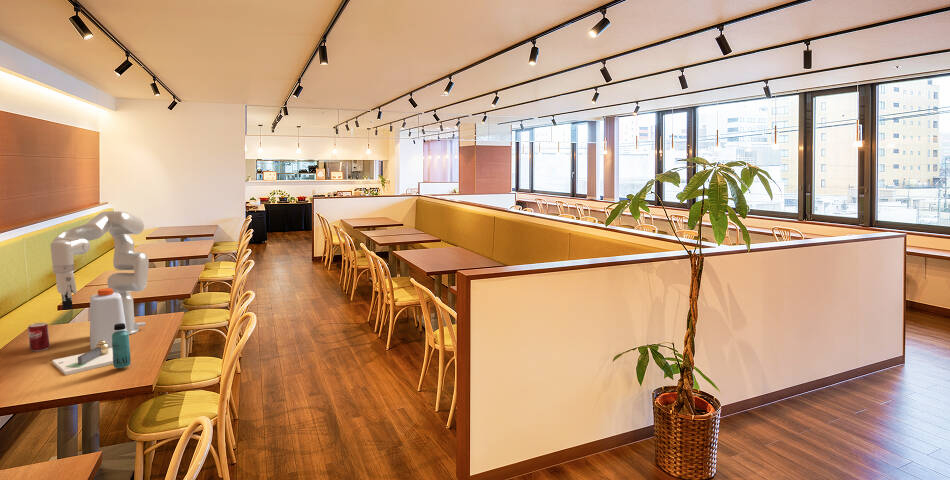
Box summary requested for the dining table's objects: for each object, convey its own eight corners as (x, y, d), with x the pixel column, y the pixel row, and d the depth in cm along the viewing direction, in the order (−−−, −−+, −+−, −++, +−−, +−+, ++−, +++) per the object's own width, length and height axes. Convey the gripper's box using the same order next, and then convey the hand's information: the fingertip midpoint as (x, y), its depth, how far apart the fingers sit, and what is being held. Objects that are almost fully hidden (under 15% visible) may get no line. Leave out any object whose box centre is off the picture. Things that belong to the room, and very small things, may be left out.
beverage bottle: (118, 366, 233) (115, 321, 230) (134, 365, 234) (131, 321, 231) (110, 371, 227) (106, 326, 224) (126, 371, 227) (123, 326, 224)
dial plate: (112, 350, 252) (112, 346, 252) (128, 360, 240) (127, 356, 239) (52, 363, 234) (52, 359, 234) (65, 375, 222) (65, 371, 222)
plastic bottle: (129, 347, 256) (125, 290, 253) (90, 353, 247) (86, 294, 244) (126, 339, 268) (122, 284, 265) (89, 344, 259) (85, 288, 255)
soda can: (38, 352, 247) (36, 327, 246) (25, 351, 249) (23, 326, 247) (53, 347, 254) (51, 323, 253) (41, 346, 256) (39, 321, 254)
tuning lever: (100, 351, 245) (100, 339, 244) (110, 351, 245) (109, 339, 244) (74, 364, 228) (73, 352, 228) (85, 364, 229) (84, 352, 228)
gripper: (79, 269, 232) (83, 310, 235) (68, 264, 241) (72, 304, 244) (58, 272, 226) (62, 314, 229) (48, 267, 235) (52, 307, 238)
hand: (67, 308), depth 237 cm, fingers closed
